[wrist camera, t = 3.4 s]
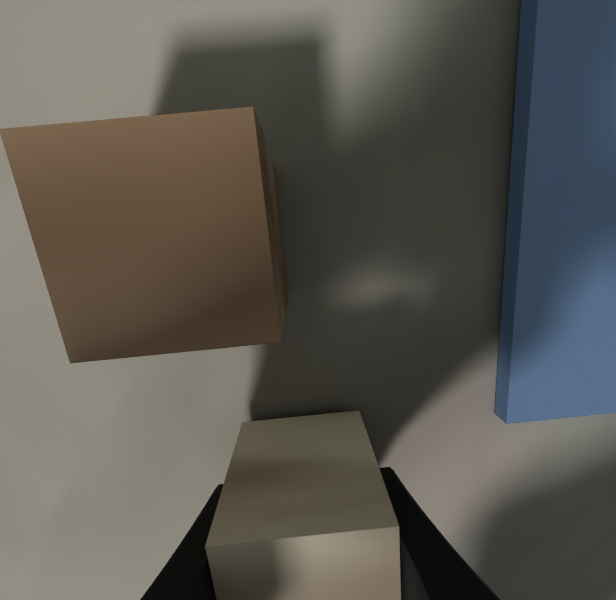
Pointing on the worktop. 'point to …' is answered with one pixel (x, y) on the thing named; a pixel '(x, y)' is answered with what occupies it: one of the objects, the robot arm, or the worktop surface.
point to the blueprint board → (561, 217)
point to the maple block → (304, 515)
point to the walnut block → (154, 231)
